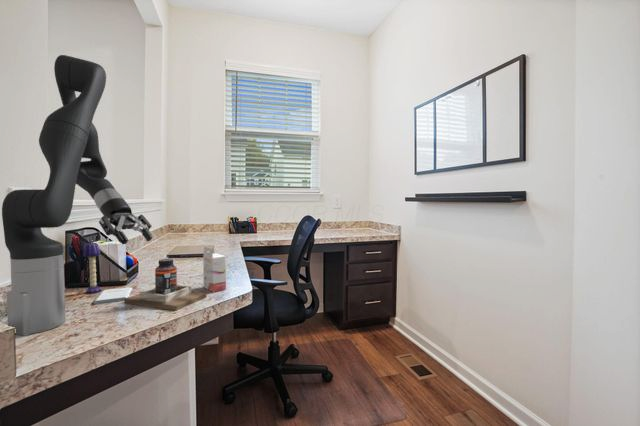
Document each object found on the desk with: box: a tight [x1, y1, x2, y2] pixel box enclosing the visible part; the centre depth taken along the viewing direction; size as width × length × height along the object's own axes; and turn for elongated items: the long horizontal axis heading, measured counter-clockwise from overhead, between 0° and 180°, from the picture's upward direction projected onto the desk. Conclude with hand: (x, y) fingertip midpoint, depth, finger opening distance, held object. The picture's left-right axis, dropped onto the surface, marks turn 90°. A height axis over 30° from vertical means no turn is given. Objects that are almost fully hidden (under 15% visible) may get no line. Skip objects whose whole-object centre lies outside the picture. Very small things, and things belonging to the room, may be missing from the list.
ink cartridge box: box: [202, 246, 227, 293], centre depth 102 cm, size 9×5×15 cm, turn 43°
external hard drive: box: [93, 287, 133, 305], centre depth 94 cm, size 2×8×12 cm
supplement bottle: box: [154, 258, 178, 295], centre depth 90 cm, size 6×6×11 cm
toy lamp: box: [82, 242, 103, 295], centre depth 98 cm, size 5×5×17 cm
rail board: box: [124, 284, 207, 311], centre depth 90 cm, size 12×20×3 cm, turn 71°
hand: (138, 240), depth 93 cm, fingers open, 8 cm apart
